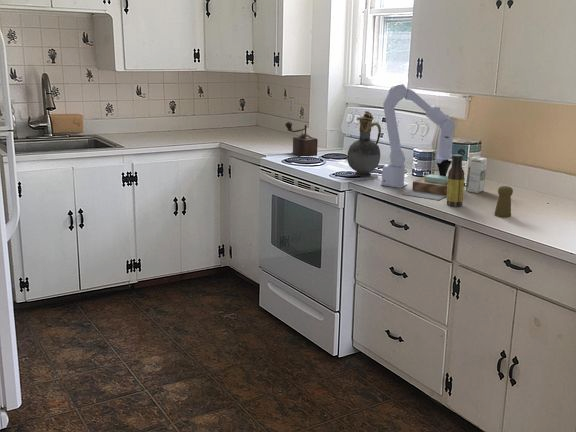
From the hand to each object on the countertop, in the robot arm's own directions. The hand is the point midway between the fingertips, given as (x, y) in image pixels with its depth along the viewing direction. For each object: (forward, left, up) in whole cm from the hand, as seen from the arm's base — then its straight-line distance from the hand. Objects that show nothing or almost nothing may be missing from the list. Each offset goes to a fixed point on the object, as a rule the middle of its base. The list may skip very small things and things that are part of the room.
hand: (442, 177), depth 278 cm
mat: (0, -19, -5) cm, 19 cm away
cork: (+35, -31, -5) cm, 47 cm away
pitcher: (-39, +3, -5) cm, 39 cm away
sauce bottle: (+15, -27, -5) cm, 31 cm away
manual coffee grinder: (-92, +29, -5) cm, 97 cm away
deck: (0, -8, -5) cm, 9 cm away
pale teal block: (0, -7, -1) cm, 7 cm away
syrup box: (+14, +2, -5) cm, 15 cm away
